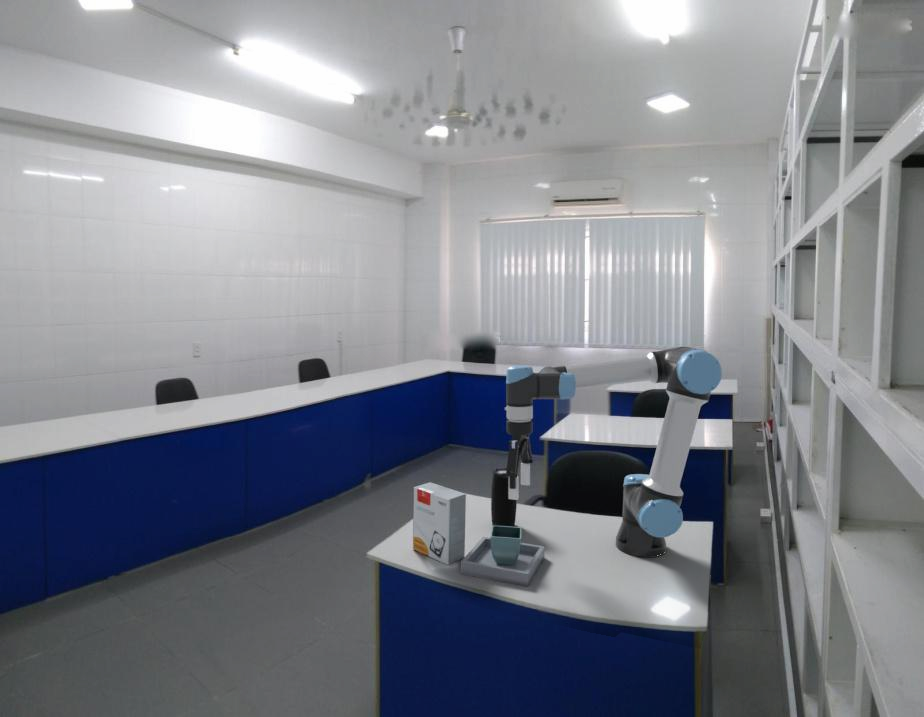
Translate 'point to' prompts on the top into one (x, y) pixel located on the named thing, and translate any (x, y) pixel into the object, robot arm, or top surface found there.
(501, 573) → the tray
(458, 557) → the hard drive box
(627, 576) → the top surface
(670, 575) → the top surface
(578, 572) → the top surface
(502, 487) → the portable speaker
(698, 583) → the top surface
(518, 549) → the flower pot
